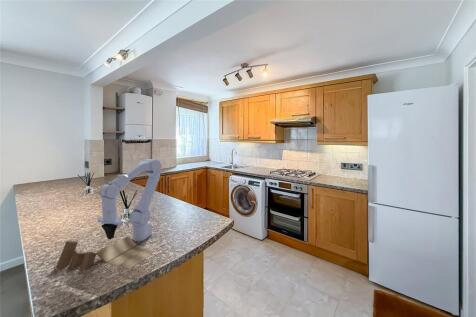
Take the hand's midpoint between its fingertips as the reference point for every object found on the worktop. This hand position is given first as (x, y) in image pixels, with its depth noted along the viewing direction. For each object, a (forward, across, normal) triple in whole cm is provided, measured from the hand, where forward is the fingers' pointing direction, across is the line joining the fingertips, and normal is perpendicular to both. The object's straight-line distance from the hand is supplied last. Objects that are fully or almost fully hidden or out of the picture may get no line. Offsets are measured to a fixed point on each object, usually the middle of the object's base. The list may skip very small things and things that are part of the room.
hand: (110, 238), depth 101 cm
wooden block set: (+8, -5, -13) cm, 16 cm away
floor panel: (+7, +14, 0) cm, 16 cm away
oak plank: (+5, +4, 0) cm, 6 cm away
